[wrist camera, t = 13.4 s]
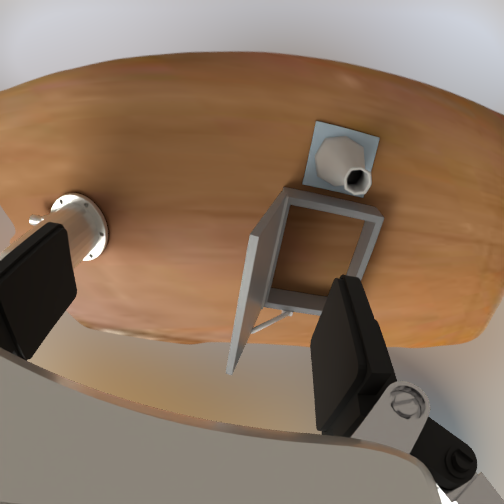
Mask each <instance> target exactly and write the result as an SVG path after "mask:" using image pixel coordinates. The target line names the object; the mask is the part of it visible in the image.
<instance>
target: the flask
mask: <svg viewBox="0 0 504 504" xmlns="http://www.w3.org/2000/svg"><path fill="white" fill-rule="evenodd" d="M315 164H316V172H317V177H319V178H321V179H323V180H324V181H326V182H328V183H330V184H331V185H333V186H343V185H344V189H345V190H347V191H349V192H350V193H352V194H354V195H360V194H366V193H367V191H368V189H369V188H370V186H371V185H372V179H371V172H369V171H368V170H366V169H365V159H364V147H363V146H361V145H360V144H358V143H356V142H355V141H353V140H352V139H350V138H348V137H347V136H340V137H329V138H325V139H324V141H323V142H322V144H321V146H320V147H319V149H318V151H317V153H316V154H315Z"/></svg>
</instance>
